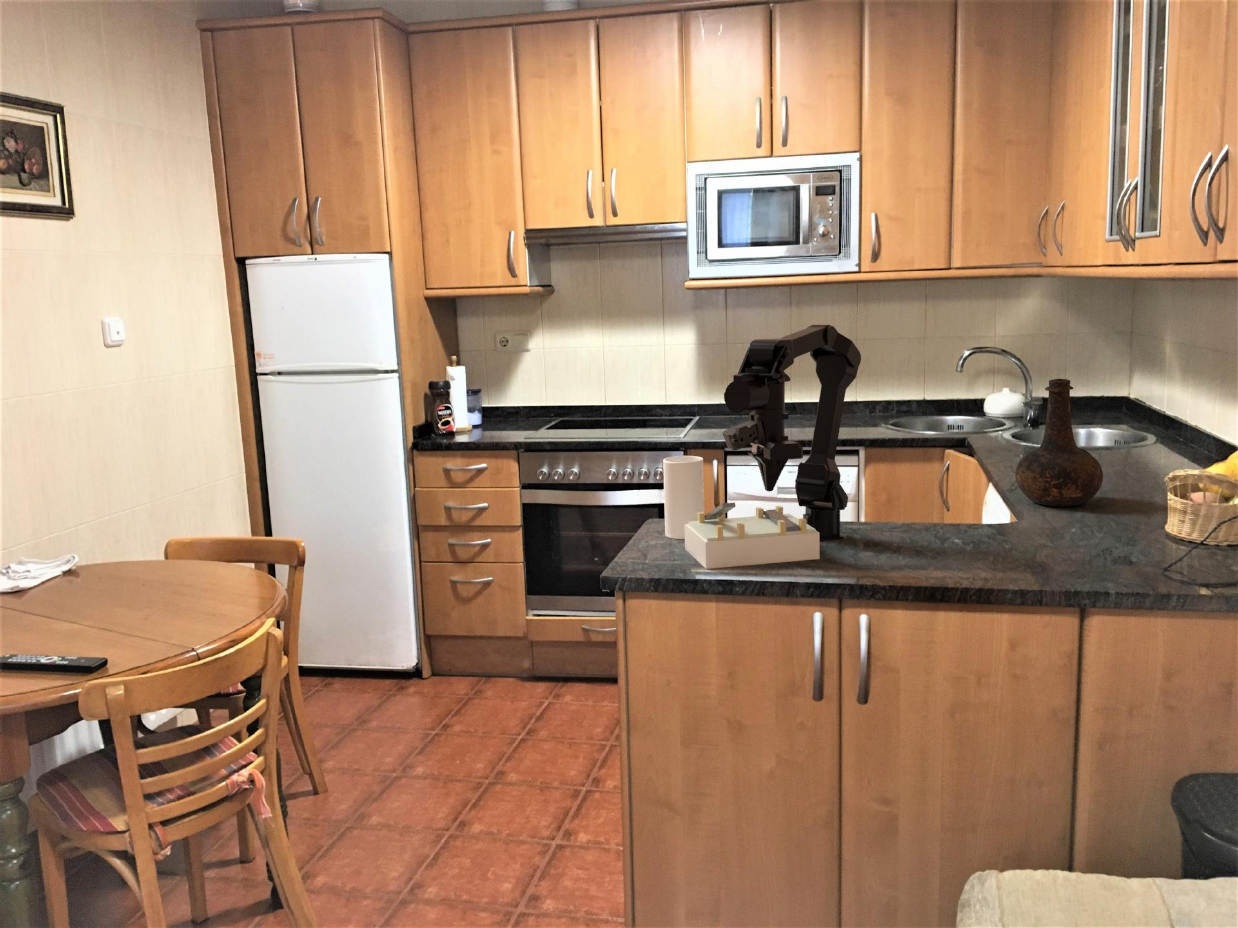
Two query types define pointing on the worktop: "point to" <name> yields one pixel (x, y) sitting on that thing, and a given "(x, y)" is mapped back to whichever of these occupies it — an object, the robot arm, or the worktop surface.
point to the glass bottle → (1059, 458)
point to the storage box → (749, 540)
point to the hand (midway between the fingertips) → (768, 490)
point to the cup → (682, 493)
